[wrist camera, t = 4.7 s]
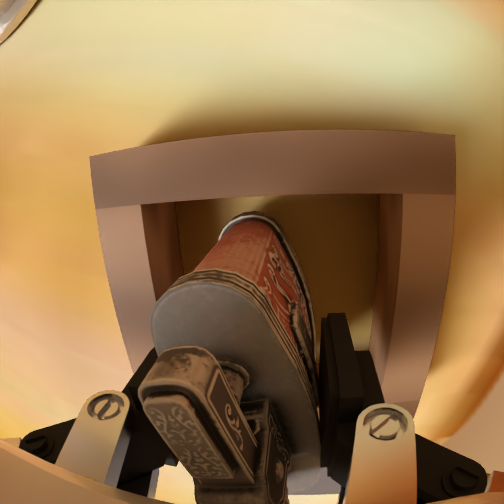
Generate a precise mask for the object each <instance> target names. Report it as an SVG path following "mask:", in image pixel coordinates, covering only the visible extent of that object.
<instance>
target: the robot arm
mask: <svg viewBox="0 0 504 504" xmlns="http://www.w3.org/2000/svg"><path fill="white" fill-rule="evenodd" d="M36 2H37V0H0V43H2V42H3V41H4V40H5V39H6V38H7V37H8V36H9V35H10V34H11V33H12V32H13V31H14V30H15V28H16V27H17V26H18V25H19V24H20V22H21V21H22V20H23V19H24V18H25V16H26V15H27V14H28V12H29V11H30V10H31V8H32V7H33V6H34V4H35V3H36ZM157 358H158V355H157V352H156V349H155V346H154V348H152V349H151V350H150V352H149V353H148V355H147V356H146V358H145V359H144V360H143V362H142V363H141V365H140V366H139V368H138V369H137V371H136V372H135V373H134V375H133V376H132V378H131V379H130V381H129V382H128V384H127V385H126V387H125V388H124V389H123V391H122V392H119V391H114V390H106V391H102V392H98V393H96V394H94V395H92V396H91V397H90V398H88V399H87V401H86V402H85V403H84V405H83V407H82V409H81V411H80V413H79V415H78V417H77V418H75V419H72V420H69V421H66V422H62V423H59V424H56V425H53V426H49V427H46V428H42V429H39V430H35V431H33V432H31V433H29V434H28V435H26V436H25V437H24V438H23V439H21V438H20V437H19V438H5V439H0V504H173V503H169V502H164V501H160V500H156V499H154V498H155V493H156V487H157V481H158V476H159V468H160V467H162V466H164V464H166V465H171V466H176V467H177V464H178V461H179V460H178V458H177V457H176V456H175V454H174V453H173V452H172V450H171V449H170V448H169V446H168V445H167V444H166V442H165V441H164V440H163V438H162V437H161V436H160V434H159V433H158V431H157V430H156V429H155V427H154V426H153V424H152V423H151V421H150V420H149V418H148V417H147V415H146V414H145V412H144V410H143V405H142V403H141V401H140V399H139V397H138V388H139V386H140V385H141V383H142V382H143V380H144V379H145V377H146V375H147V374H148V372H149V371H150V369H151V368H152V366H153V365H154V363H155V361H156V360H157ZM318 382H319V402H320V403H319V423H320V428H321V455H320V467H321V468H325V467H327V477H331V479H332V480H334V481H335V482H337V483H338V484H340V485H341V486H340V491H339V496H338V501H337V504H504V472H500V471H493V472H492V474H488V473H486V472H485V469H484V468H483V467H482V466H481V465H480V464H479V463H477V462H476V461H474V460H472V459H469V458H467V457H465V456H463V455H460V454H458V453H456V452H454V451H452V450H449V449H447V448H445V447H443V446H441V445H439V444H436V443H434V442H432V441H430V440H428V439H426V438H424V437H422V436H420V435H418V434H416V433H415V427H414V421H413V418H412V416H411V415H410V413H409V412H408V411H407V410H405V409H404V408H402V407H400V406H397V405H395V404H388V403H385V400H384V396H383V393H382V389H381V386H380V382H379V379H378V375H377V372H376V368H375V365H374V362H373V358H372V355H371V353H370V351H369V350H367V351H354V347H353V343H352V339H351V335H350V331H349V327H348V323H347V319H346V315H345V313H328V317H327V318H322V319H321V341H320V361H319V378H318Z"/></svg>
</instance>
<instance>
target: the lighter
mask: <svg viewBox="0 0 504 504" xmlns="http://www.w3.org/2000/svg"><path fill="white" fill-rule="evenodd" d="M150 330H151V335H152V339H153V342H154V345H155V349H156V352H157V355H158V358H157V360H156V361H155V363H154V365H153V366H152V368H151V369H150V371H149V372H148V374H147V375H146V377H145V379H144V380H143V382H142V383H141V385H140V386H139V388H138V397H139V399H140V401H141V403H142V405H143V410H144V412H145V414H146V415H147V417H148V418H149V420H150V421H151V423H152V424H153V426H154V427H155V429H156V430H157V431H158V433H159V434H160V436H161V437H162V438H163V440H164V441H165V442H166V444H167V445H168V446H169V448H170V449H171V450H172V452H173V453H174V454H175V456H176V457H177V458H178V460H179V461H180V462H181V463H182V465H183V466H184V467H185V468H186V470H187V471H188V472H189V473H190V474H191V476H192V477H193V481H194V485H195V500H196V503H197V504H289V499H288V494H291V493H297V492H301V491H304V490H307V489H310V488H311V487H313V486H314V485H315V484H317V483H318V481H319V479H320V471H321V467H320V455H321V428H320V423H319V417H318V411H317V406H318V404H319V403H320V402H319V382H318V372H317V366H316V331H315V320H314V314H313V308H312V303H311V297H310V292H309V288H308V285H307V282H306V280H305V277H304V274H303V271H302V269H301V266H300V263H299V260H298V257H297V255H296V253H295V251H294V250H293V248H292V246H291V244H290V242H289V240H288V238H287V236H286V234H285V232H284V230H283V228H282V226H281V225H280V224H279V222H278V221H277V220H276V219H275V218H274V217H272V216H271V215H269V214H267V213H264V212H258V211H251V212H244V213H242V214H240V215H238V216H236V217H234V218H233V219H232V220H231V221H230V222H229V223H228V224H227V225H226V226H225V227H224V228H223V230H222V232H221V234H220V236H219V239H218V242H217V243H216V245H215V246H214V247H213V248H212V249H211V250H210V252H209V253H208V254H207V255H206V256H205V258H204V259H203V260H202V261H201V262H200V264H199V265H198V266H197V267H196V268H195V269H194V271H193V272H191V273H189V274H187V275H184V276H182V277H180V278H179V279H178V280H177V281H176V282H175V283H174V284H173V285H172V286H171V287H170V288H169V289H168V290H167V291H166V292H165V293H164V294H163V295H162V296H161V297H160V299H159V300H158V301H157V302H156V303H155V305H154V308H153V311H152V313H151V316H150Z"/></svg>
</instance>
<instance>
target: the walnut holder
mask: <svg viewBox="0 0 504 504" xmlns="http://www.w3.org/2000/svg"><path fill="white" fill-rule="evenodd" d="M90 167H91V177H92V186H93V194H94V202H95V209H96V216H97V223H98V229H99V235H100V241H101V246H102V252H103V257H104V262H105V267H106V272H107V277H108V281H109V286H110V290H111V294H112V299H113V303H114V307H115V311H116V315H117V319H118V322H119V326H120V330H121V333H122V337H123V340H124V344H125V347H126V351H127V354H128V357H129V361H130V364H131V367H132V370H133V373H135V372H136V371H137V369H138V368H139V366H140V365H141V363H142V362H143V360H144V359H145V358H146V356H147V355H148V353H149V352H150V350H151V349H152V348H154V346H155V345H154V342H153V339H152V335H151V330H150V316H151V313H152V311H153V308H154V305H155V303H156V302H157V301H158V300H159V299H160V297H161V296H162V295H163V294H164V293H165V292H166V291H167V290H168V289H169V288H170V287H171V286H172V285H173V284H174V283H175V282H176V281H177V280H178V279H179V278H180V277H182V276H184V273H183V266H182V258H181V251H180V243H179V235H178V227H177V219H176V210H175V201H188V200H202V199H217V198H233V197H252V196H274V195H303V194H359V193H379V238H378V260H377V276H376V289H375V301H374V311H373V321H372V329H371V338H370V345H369V351H370V353H371V355H372V358H373V362H374V365H375V368H376V372H377V375H378V379H379V382H380V386H381V389H382V393H383V396H384V400H385V403H388V404H395V405H397V406H400V407H402V408H404V409H405V410H407V411H408V412H409V413H410V415H411V416H412V418H414V416H415V413H416V410H417V407H418V404H419V401H420V398H421V395H422V391H423V388H424V385H425V381H426V378H427V375H428V371H429V367H430V364H431V360H432V356H433V352H434V348H435V344H436V340H437V335H438V331H439V326H440V321H441V316H442V311H443V306H444V300H445V295H446V288H447V282H448V275H449V268H450V260H451V251H452V241H453V229H454V214H455V189H456V157H455V135H446V134H435V133H423V132H409V131H390V130H357V129H324V130H290V131H270V132H255V133H243V134H231V135H221V136H212V137H203V138H195V139H187V140H179V141H172V142H166V143H159V144H153V145H147V146H141V147H135V148H130V149H124V150H119V151H114V152H109V153H104V154H99V155H95V156H90ZM316 366H317V372H318V378H319V364H316ZM317 411H318V417H319V404H318V406H317Z"/></svg>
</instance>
